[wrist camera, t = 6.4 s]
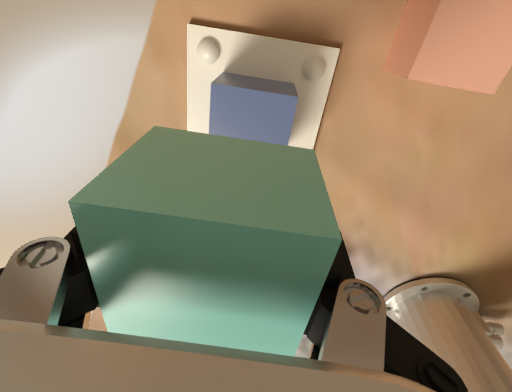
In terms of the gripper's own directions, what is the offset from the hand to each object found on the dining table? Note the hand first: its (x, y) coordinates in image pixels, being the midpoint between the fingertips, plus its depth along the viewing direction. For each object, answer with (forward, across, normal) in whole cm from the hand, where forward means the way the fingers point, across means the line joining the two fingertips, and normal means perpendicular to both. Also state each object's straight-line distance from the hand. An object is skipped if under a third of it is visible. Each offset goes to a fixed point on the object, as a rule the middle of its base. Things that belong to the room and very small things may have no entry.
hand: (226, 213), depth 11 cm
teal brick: (+1, 0, 0) cm, 1 cm away
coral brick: (+16, -13, -8) cm, 22 cm away
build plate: (+16, 0, 0) cm, 16 cm away
